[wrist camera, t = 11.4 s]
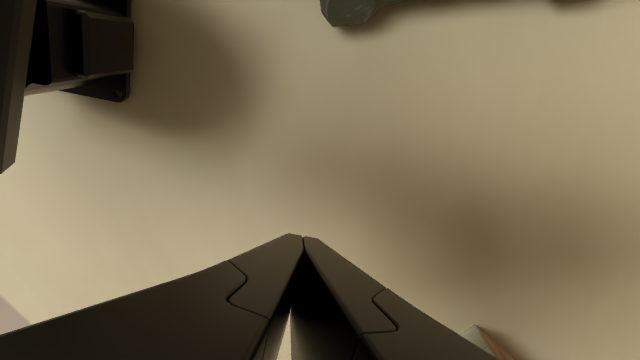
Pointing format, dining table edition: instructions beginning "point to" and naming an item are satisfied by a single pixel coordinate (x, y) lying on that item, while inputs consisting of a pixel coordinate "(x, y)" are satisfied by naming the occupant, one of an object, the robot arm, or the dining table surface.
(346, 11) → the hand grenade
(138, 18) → the dining table surface
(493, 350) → the walnut block
